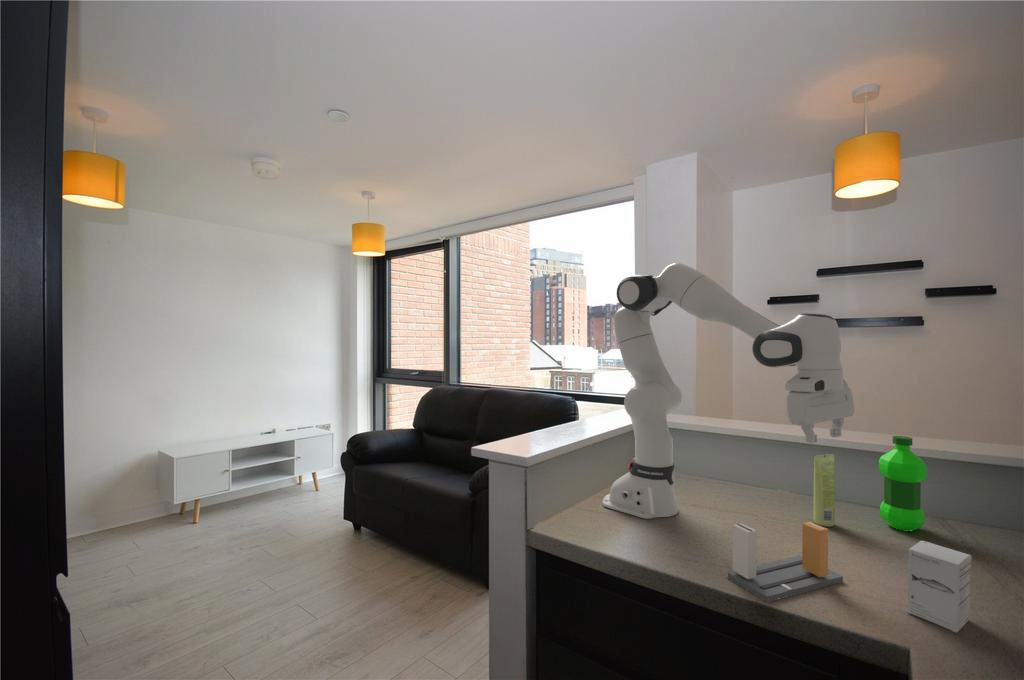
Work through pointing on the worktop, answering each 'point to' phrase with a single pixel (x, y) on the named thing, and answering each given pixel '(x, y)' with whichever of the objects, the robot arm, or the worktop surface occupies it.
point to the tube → (824, 490)
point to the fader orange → (815, 549)
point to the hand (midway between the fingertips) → (823, 439)
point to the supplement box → (939, 585)
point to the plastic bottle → (902, 486)
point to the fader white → (744, 550)
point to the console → (783, 579)
